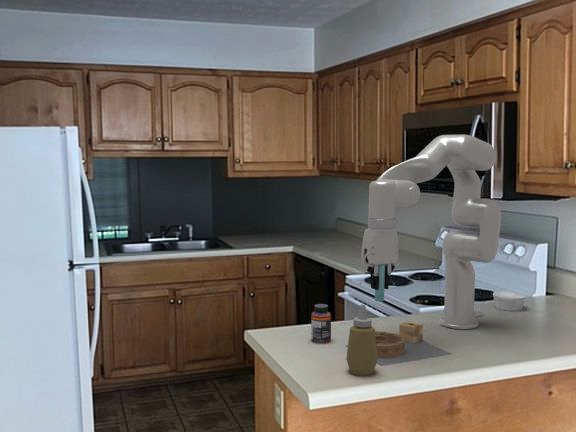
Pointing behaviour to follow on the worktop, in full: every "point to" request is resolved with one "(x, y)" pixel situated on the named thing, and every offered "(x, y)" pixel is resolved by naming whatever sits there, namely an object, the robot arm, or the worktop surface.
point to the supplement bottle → (321, 324)
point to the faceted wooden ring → (389, 344)
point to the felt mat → (414, 353)
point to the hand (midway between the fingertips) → (379, 288)
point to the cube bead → (411, 332)
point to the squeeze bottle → (362, 345)
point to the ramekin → (508, 300)
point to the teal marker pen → (380, 284)
